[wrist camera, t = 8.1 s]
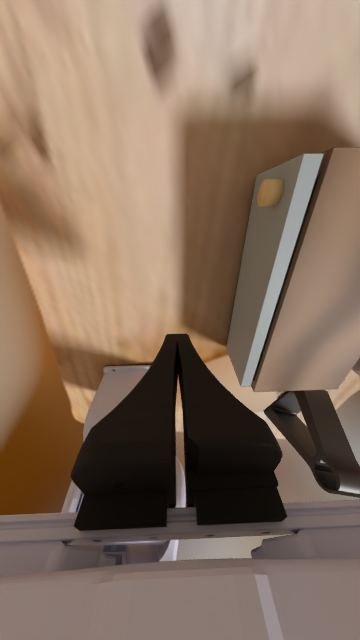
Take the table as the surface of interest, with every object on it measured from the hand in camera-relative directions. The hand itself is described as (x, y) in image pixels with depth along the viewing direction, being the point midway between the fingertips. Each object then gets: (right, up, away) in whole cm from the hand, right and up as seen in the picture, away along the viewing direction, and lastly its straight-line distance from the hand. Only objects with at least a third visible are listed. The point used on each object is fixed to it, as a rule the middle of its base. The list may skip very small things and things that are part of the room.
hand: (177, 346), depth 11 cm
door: (+6, +5, +7) cm, 11 cm away
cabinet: (+12, +6, +8) cm, 16 cm away
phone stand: (+20, -12, +20) cm, 31 cm away
